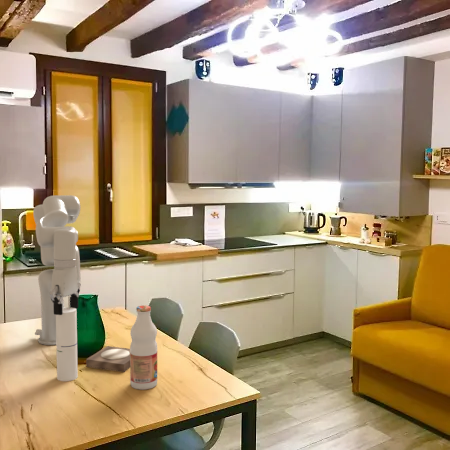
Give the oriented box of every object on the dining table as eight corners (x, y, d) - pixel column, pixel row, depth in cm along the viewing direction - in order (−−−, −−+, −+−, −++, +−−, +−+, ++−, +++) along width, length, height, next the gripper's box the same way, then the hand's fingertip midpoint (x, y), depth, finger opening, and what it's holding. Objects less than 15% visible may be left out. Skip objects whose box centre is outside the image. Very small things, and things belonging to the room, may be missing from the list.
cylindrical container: (74, 381, 188) (73, 312, 185) (54, 381, 188) (52, 312, 185) (80, 373, 195) (79, 307, 192) (60, 373, 195) (59, 307, 192)
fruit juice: (126, 382, 187) (125, 305, 184) (150, 377, 192) (150, 302, 189) (137, 392, 179) (136, 312, 176) (162, 386, 185) (162, 308, 182)
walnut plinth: (86, 366, 202) (86, 358, 201) (107, 353, 217) (107, 345, 216) (124, 372, 197) (124, 363, 197) (143, 357, 212) (142, 349, 212)
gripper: (70, 259, 196) (71, 304, 198) (40, 267, 180) (42, 316, 181) (87, 260, 194) (88, 306, 196) (59, 268, 178) (61, 318, 179)
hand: (66, 311), depth 188 cm, fingers open, 9 cm apart
